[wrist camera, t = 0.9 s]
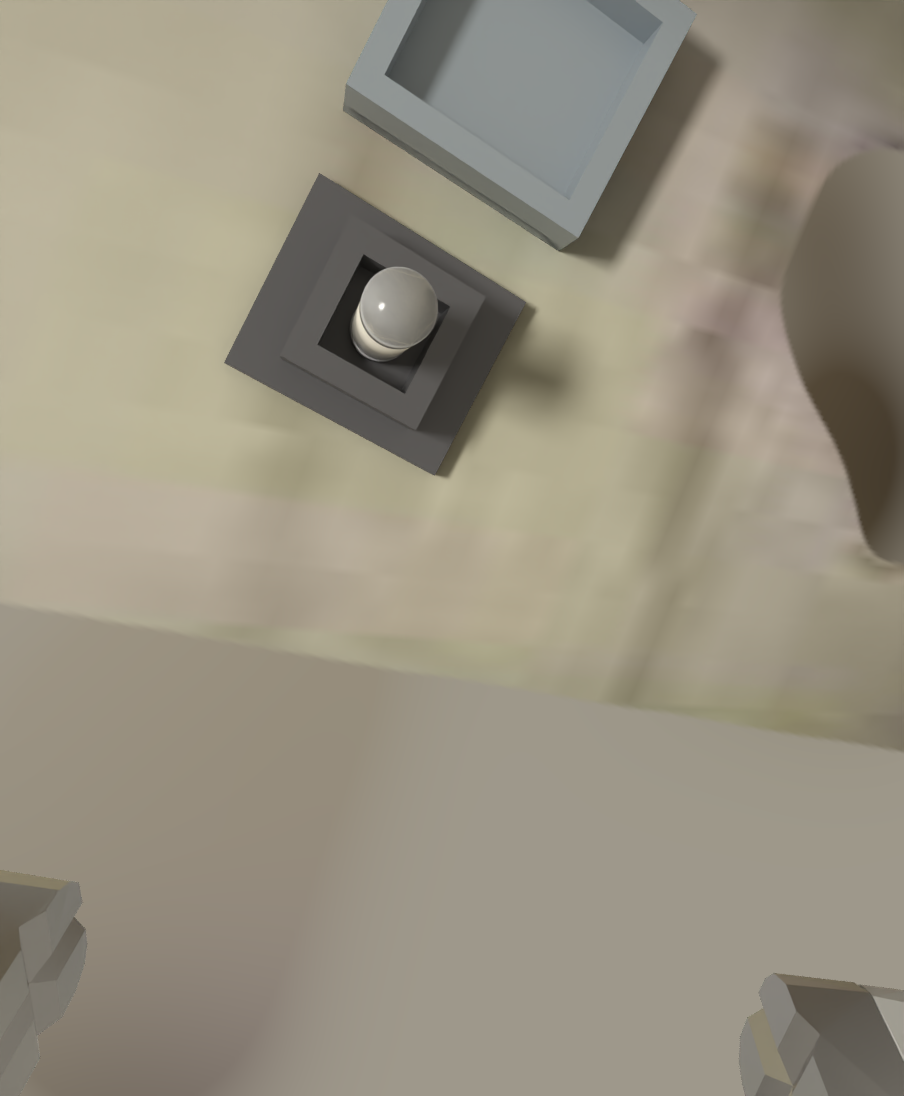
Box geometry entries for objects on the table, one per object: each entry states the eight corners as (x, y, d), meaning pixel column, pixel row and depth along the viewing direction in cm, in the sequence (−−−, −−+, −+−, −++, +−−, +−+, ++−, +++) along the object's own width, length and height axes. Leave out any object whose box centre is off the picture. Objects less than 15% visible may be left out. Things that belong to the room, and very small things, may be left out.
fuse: (338, 343, 44) (347, 322, 34) (366, 288, 44) (383, 251, 34) (392, 373, 45) (415, 361, 35) (420, 319, 45) (451, 292, 35)
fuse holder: (226, 363, 44) (218, 358, 40) (319, 178, 43) (320, 155, 39) (432, 474, 47) (443, 479, 43) (521, 304, 47) (541, 294, 43)
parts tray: (343, 110, 43) (346, 83, 39) (457, -118, 42) (470, -165, 38) (558, 251, 46) (578, 238, 43) (667, 44, 46) (696, 14, 42)
